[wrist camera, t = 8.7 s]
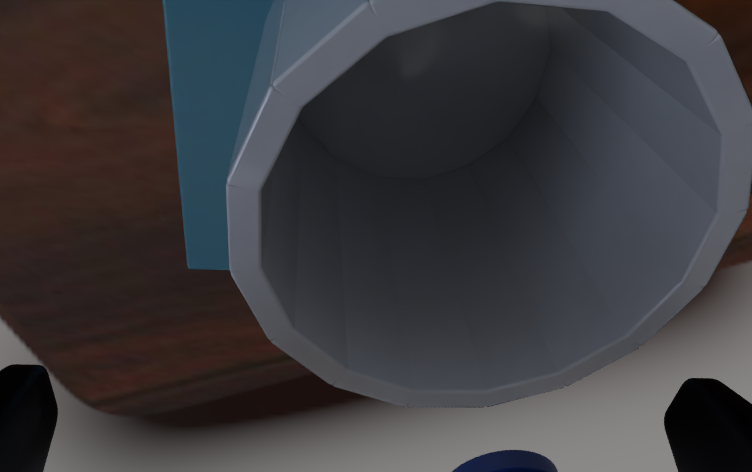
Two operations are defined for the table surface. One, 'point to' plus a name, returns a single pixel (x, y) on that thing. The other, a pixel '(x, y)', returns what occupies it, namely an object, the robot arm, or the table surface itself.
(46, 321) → the table surface
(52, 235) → the table surface
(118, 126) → the table surface
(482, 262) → the cup
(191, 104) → the container
